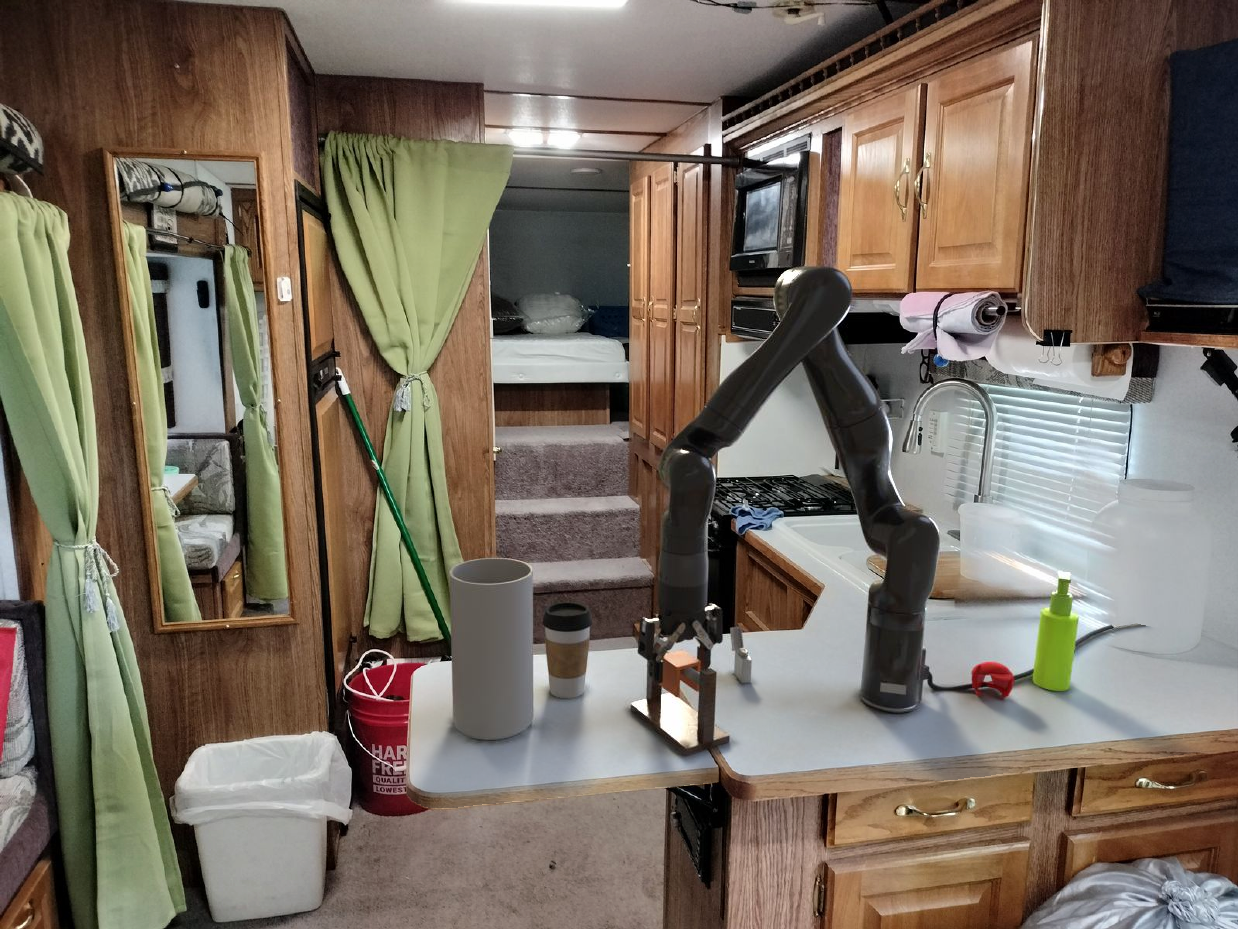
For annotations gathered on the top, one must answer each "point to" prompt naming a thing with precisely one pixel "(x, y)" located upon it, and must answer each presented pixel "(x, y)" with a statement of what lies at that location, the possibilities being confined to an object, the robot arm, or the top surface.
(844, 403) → the robot arm
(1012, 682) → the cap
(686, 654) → the clip
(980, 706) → the top surface
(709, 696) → the handle stand
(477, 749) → the top surface
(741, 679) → the lighter
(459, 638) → the cylinder vase
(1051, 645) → the soap dispenser
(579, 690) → the coffee cup
